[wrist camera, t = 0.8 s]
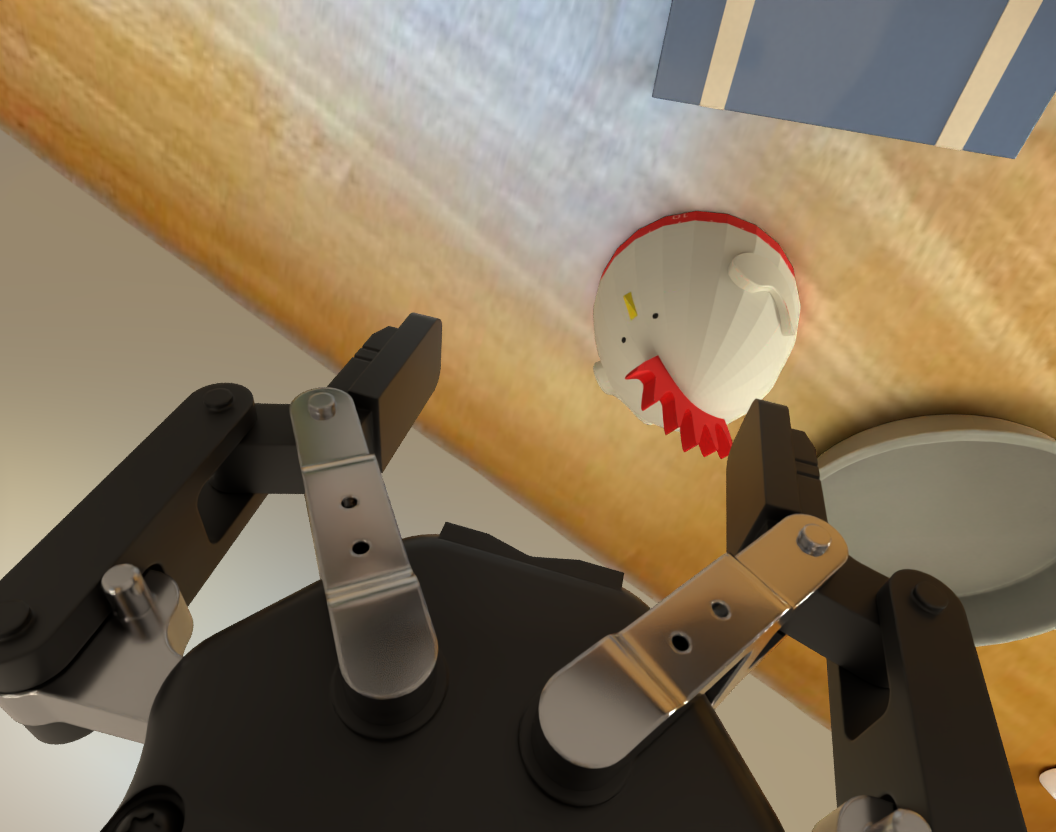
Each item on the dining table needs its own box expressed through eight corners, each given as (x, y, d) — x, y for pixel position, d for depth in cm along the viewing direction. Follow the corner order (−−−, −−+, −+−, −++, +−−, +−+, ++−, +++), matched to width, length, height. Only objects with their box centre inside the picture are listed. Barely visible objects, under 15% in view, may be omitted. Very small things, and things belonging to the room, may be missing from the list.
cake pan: (1010, 329, 39) (1037, 368, 36) (1184, 544, 46) (1221, 594, 42) (705, 489, 54) (704, 526, 51) (868, 633, 60) (877, 676, 57)
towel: (700, -131, 30) (699, -133, 29) (1147, -77, 27) (1162, -77, 26) (653, 94, 36) (651, 98, 35) (1010, 155, 33) (1017, 161, 33)
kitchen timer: (710, 165, 38) (702, 268, 26) (840, 314, 41) (883, 461, 30) (560, 299, 46) (506, 420, 35) (680, 413, 50) (666, 556, 38)
